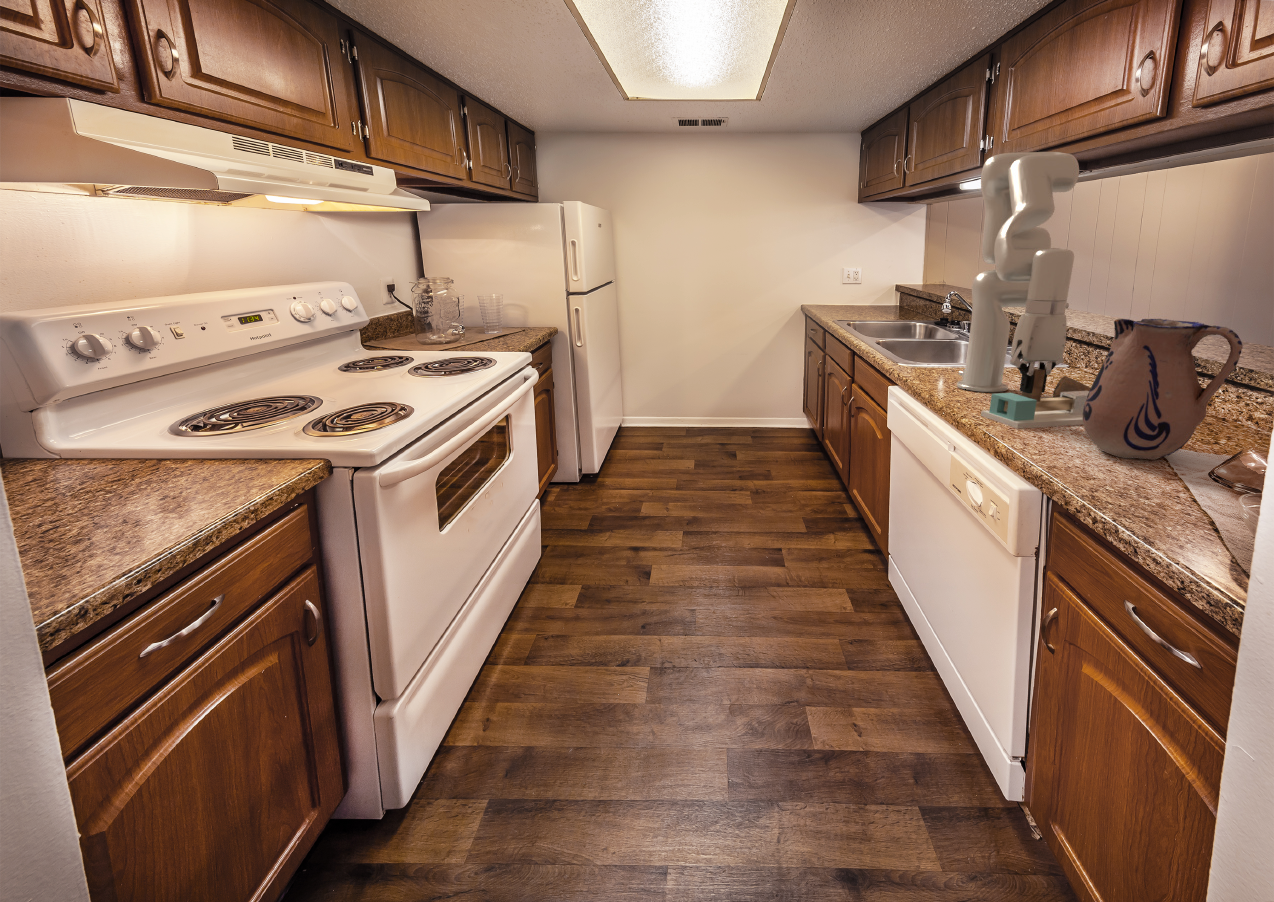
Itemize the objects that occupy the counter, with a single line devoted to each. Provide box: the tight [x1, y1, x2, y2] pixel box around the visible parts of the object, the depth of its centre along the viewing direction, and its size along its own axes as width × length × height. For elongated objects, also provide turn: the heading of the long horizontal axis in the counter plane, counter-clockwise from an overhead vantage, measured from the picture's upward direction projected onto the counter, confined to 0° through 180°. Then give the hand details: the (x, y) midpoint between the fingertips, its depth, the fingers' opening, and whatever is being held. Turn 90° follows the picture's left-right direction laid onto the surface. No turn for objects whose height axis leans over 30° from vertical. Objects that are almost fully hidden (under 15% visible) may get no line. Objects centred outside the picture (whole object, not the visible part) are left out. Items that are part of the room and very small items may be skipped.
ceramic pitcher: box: [1083, 318, 1244, 461], centre depth 127 cm, size 18×21×25 cm
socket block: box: [989, 392, 1037, 421], centre depth 155 cm, size 5×8×4 cm, turn 11°
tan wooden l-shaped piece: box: [1004, 367, 1073, 412], centre depth 155 cm, size 17×3×9 cm, turn 101°
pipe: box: [1052, 375, 1091, 398], centre depth 174 cm, size 6×17×10 cm
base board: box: [980, 409, 1084, 429], centre depth 157 cm, size 26×12×1 cm, turn 101°
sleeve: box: [1058, 391, 1089, 415], centre depth 158 cm, size 7×4×4 cm, turn 101°
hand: (1031, 391), depth 155 cm, fingers closed on tan wooden l-shaped piece, 2 cm apart
